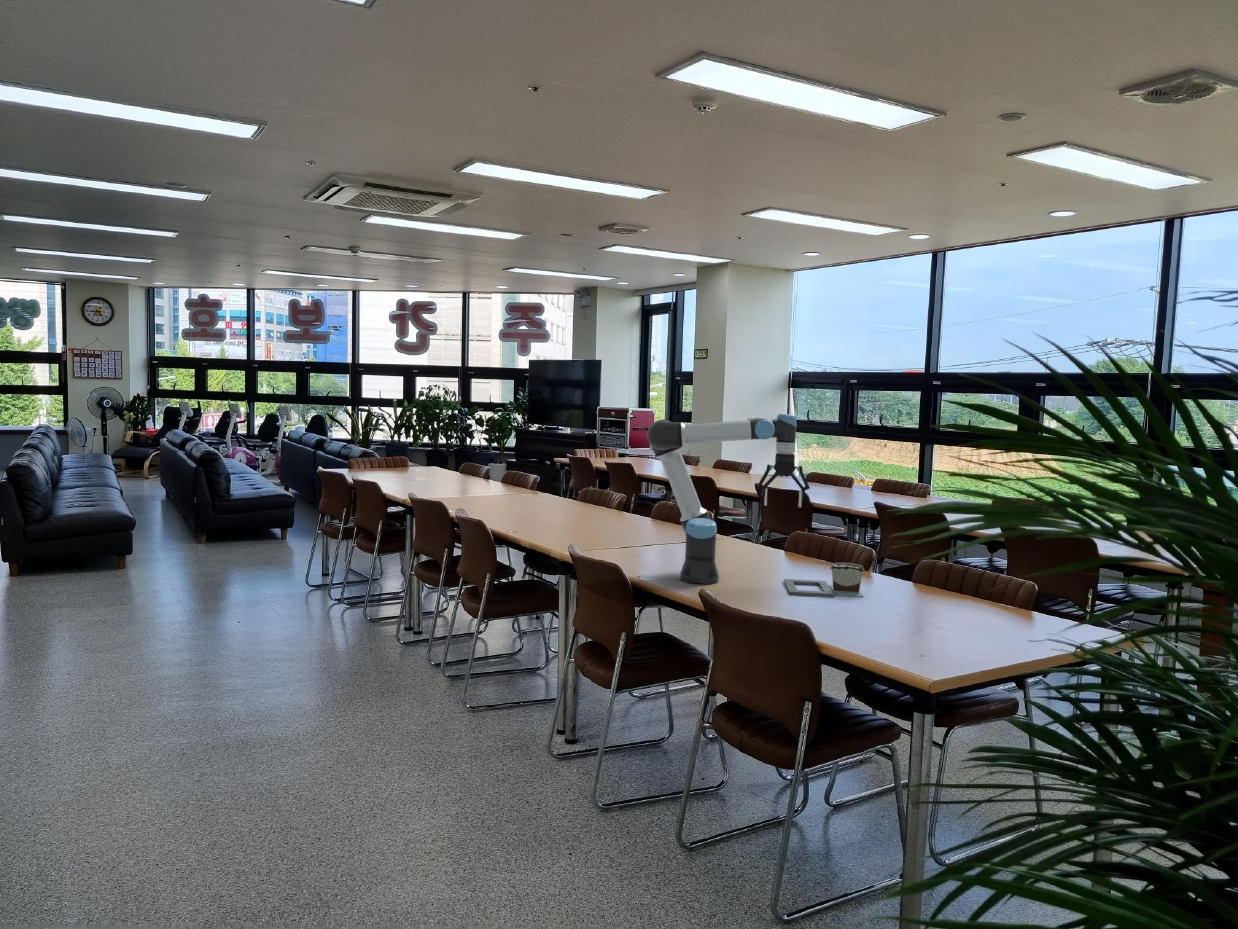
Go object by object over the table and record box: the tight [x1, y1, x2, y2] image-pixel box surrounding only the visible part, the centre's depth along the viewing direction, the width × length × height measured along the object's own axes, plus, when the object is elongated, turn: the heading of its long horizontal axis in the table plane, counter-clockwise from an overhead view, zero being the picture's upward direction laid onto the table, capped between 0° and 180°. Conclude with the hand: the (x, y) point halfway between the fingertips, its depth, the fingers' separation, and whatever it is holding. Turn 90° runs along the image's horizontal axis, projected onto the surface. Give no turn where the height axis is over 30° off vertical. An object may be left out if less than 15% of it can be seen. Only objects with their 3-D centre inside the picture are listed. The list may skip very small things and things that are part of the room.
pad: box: [828, 584, 864, 597], centre depth 319 cm, size 10×16×1 cm, turn 175°
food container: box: [829, 562, 865, 593], centre depth 318 cm, size 12×6×10 cm, turn 78°
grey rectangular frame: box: [783, 578, 835, 598], centre depth 320 cm, size 16×22×1 cm
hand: (782, 506), depth 338 cm, fingers open, 13 cm apart
